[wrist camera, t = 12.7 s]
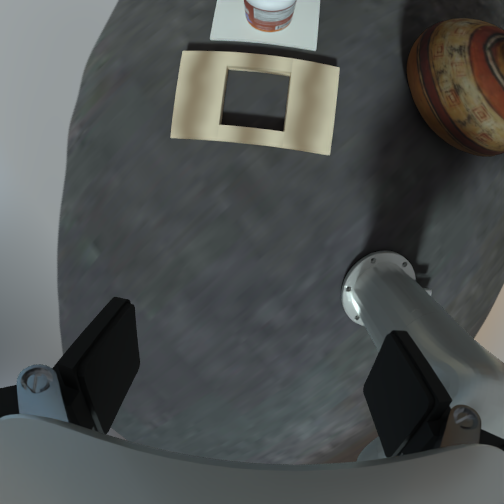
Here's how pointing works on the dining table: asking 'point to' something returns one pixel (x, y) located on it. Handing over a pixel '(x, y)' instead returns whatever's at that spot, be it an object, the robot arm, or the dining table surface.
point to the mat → (238, 29)
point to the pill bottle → (269, 14)
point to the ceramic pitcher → (461, 83)
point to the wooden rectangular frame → (209, 127)
